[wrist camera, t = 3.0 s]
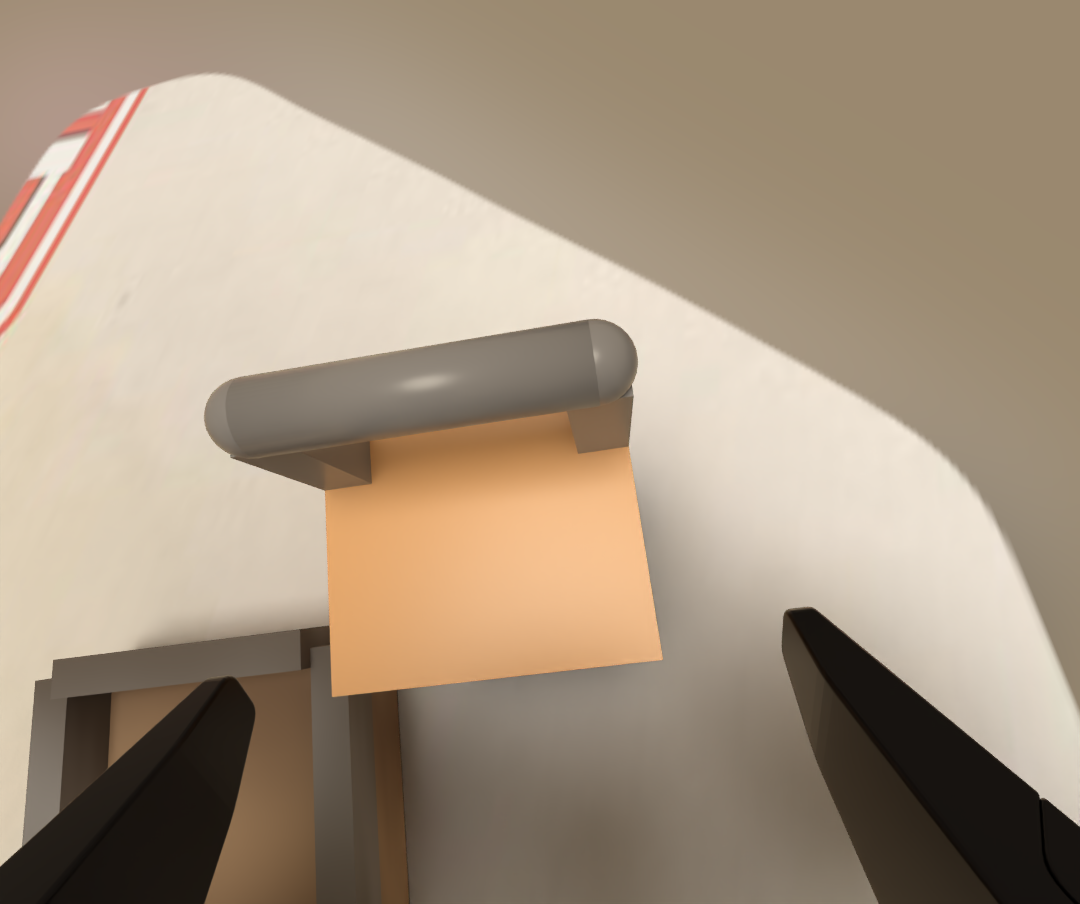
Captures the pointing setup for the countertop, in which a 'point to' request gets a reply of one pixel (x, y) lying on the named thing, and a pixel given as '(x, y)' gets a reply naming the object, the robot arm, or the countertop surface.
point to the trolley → (465, 502)
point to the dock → (270, 769)
